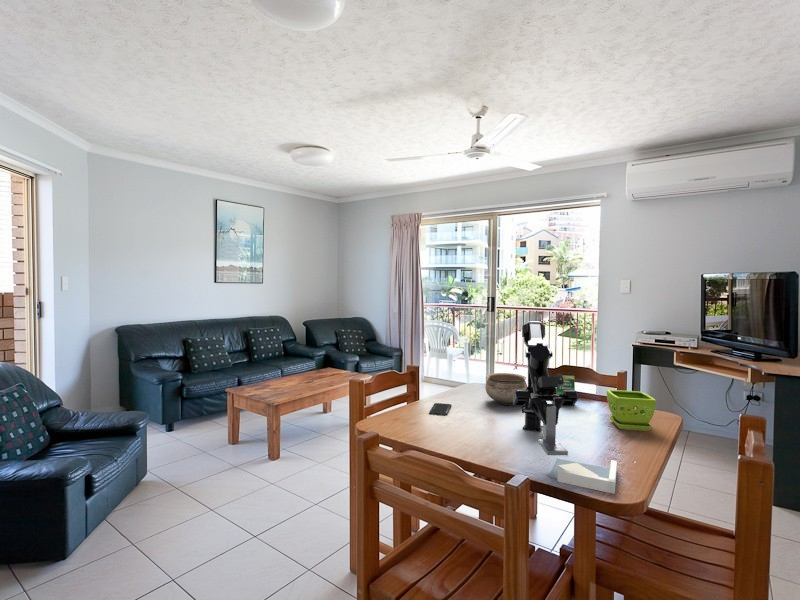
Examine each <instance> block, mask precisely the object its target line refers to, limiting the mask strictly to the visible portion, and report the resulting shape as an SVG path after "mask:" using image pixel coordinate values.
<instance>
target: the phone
mask: <svg viewBox="0 0 800 600" xmlns="http://www.w3.org/2000/svg"><path fill="white" fill-rule="evenodd" d="M451 408H452V404H450V403H441V402H440V403H439V402H434V403H433V405H432V407H431V408H430V410H429V411H428V412H429V413H428V414H429V415H432V414H435V415H434V416H446V417H447V416H448V415H449V413H450V411H451Z"/></svg>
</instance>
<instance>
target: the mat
mask: <svg viewBox="0 0 800 600" xmlns="http://www.w3.org/2000/svg"><path fill="white" fill-rule="evenodd" d="M558 469H562V470H567V471H572V472H577V473H582V474H587V475H592V476H597V477H602V478H607V479H609V473H610V467H603V466H599V465H598V466H597V465H593V464H587V463H583V462H577V461H572V460H567V459H561V458H556V459H555V462H554V464H553V466H552V468H551V471H550V473H549V475H548V478H551V479H554V480H558Z"/></svg>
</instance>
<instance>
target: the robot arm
mask: <svg viewBox="0 0 800 600" xmlns="http://www.w3.org/2000/svg"><path fill="white" fill-rule="evenodd" d="M521 338H523V343H524V345H525V350H524V351H525V358H526V359H527V388H526V390H516V391H515V393H514V396H513V406H514V407H521V408H520V409H521V414H525V415H524V425H523V426H522V430H526V431H530V432H539V433H541V431H543V425H542V424H543V423H544V425H546V424H547V422H546V417H545V414H544V411H543V407H544V404H548V402H551V404H554V405H555V406H556V426H557V425H558V421H559V415H560V414H559V412H560V409H561V408H562V407H573V406H575V404H576V403H577V402H578V400H579V399H580V398H579V393H578V392H577V391H576V390H563V392H562V393H561V395H556V394H554V393H556V387H558V385H563V384H564V379H563V376H564V375H563V374H562V373H556V374H554V375H550V374H549V370H548V367H549V363H550V359H551V358H553V351H552V350H551V349H550V347H548V343H547V341H545V340H544V339H545V338H546V325H544V324H543V323H542V321H536V320H534V321H533V320H532V321H531V320H530V321H527V323H525V324H524V325H522V329H521Z"/></svg>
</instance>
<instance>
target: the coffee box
mask: <svg viewBox="0 0 800 600" xmlns="http://www.w3.org/2000/svg"><path fill="white" fill-rule="evenodd" d="M562 376H563V379H564V384H563V385H558V387H556V391H555V393H556V394H555V395H561V393H562V392H563V390H575V388H576V387H575V386H576V385H575V383H576V382H575V375H562ZM575 391H576V390H575Z"/></svg>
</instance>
